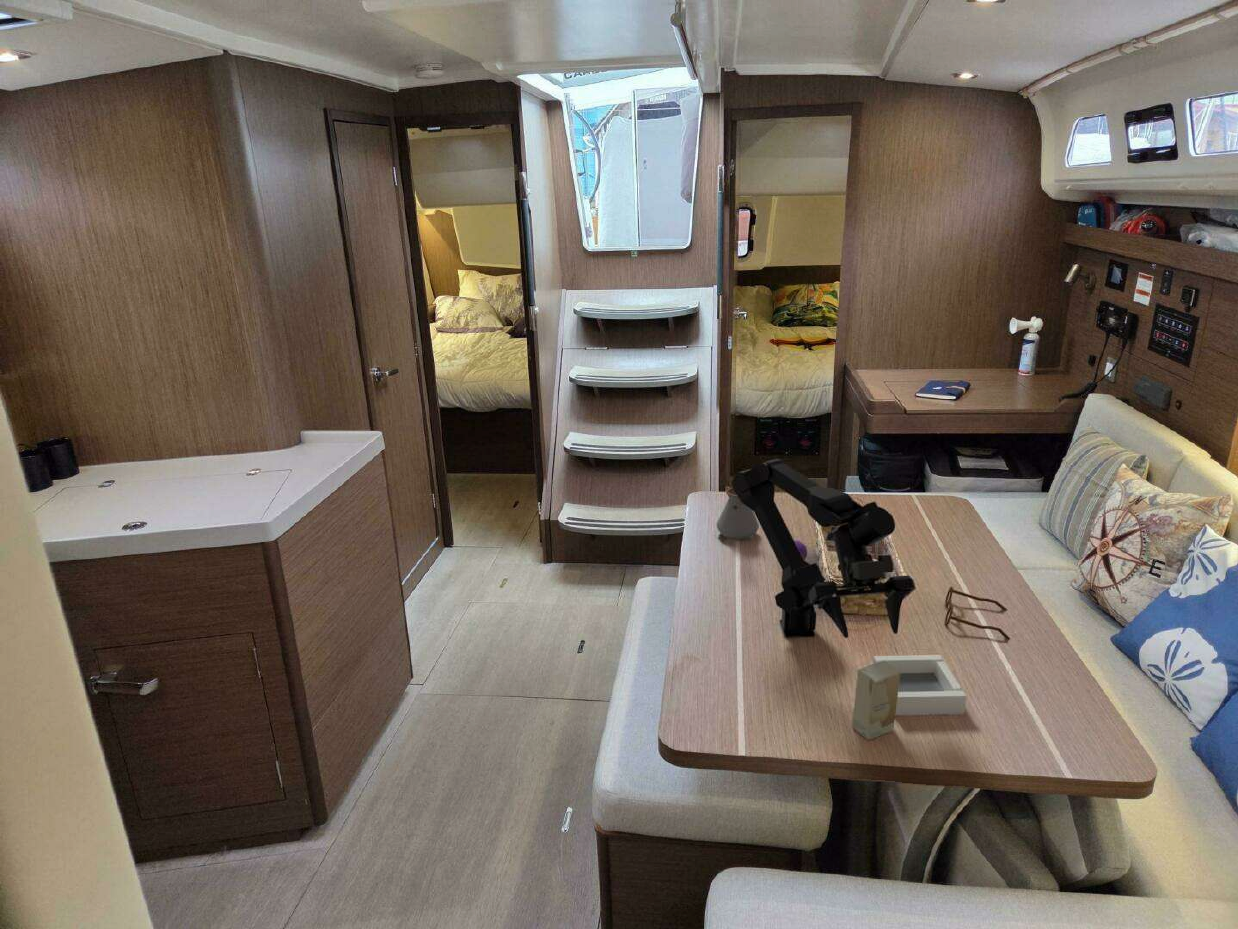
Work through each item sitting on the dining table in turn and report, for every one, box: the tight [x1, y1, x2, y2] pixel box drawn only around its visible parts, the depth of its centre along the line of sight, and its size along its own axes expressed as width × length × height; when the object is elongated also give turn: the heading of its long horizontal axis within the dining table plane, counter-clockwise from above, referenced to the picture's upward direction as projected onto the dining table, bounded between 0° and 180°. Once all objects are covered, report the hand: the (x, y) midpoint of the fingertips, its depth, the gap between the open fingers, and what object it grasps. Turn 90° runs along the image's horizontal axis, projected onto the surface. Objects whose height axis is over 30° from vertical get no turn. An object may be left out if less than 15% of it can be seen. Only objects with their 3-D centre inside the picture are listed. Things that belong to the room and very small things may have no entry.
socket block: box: [872, 654, 967, 716], centre depth 152 cm, size 13×13×4 cm
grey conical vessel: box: [716, 487, 760, 542], centre depth 213 cm, size 21×12×15 cm, turn 168°
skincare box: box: [851, 661, 901, 741], centre depth 141 cm, size 6×4×12 cm
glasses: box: [944, 586, 1011, 640], centre depth 176 cm, size 13×13×5 cm
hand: (871, 635), depth 146 cm, fingers open, 9 cm apart
